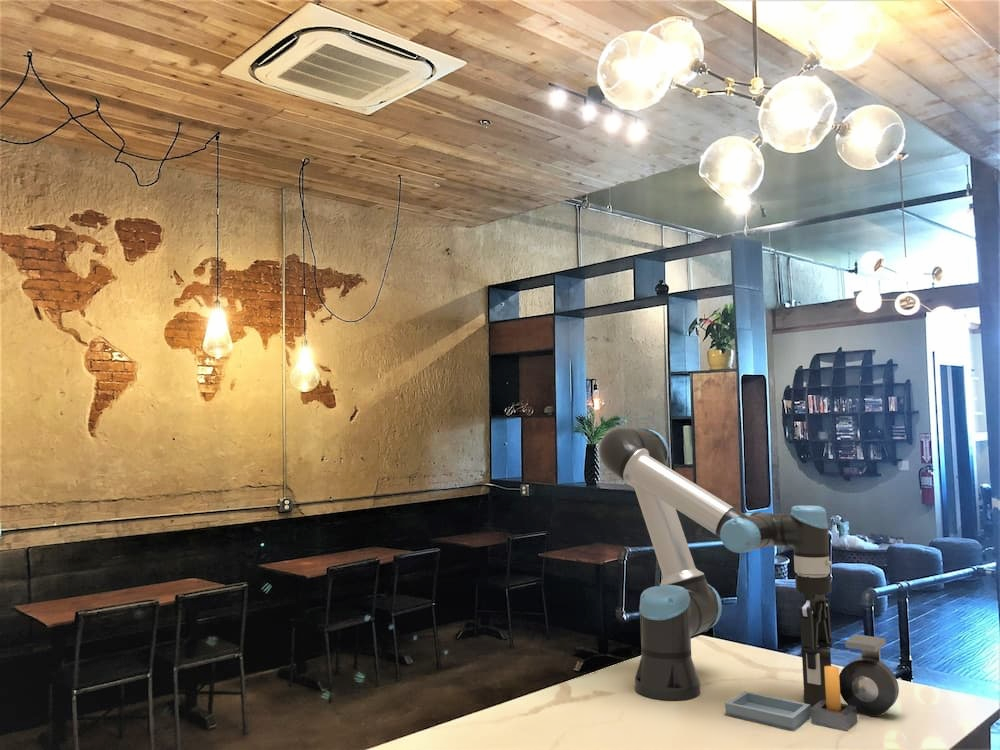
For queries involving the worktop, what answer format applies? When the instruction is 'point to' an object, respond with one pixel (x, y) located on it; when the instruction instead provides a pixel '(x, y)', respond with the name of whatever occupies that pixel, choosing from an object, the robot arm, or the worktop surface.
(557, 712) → the worktop surface
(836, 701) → the pin
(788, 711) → the tray
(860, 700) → the caster wheel
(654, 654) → the robot arm
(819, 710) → the pin socket
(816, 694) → the phone stand
